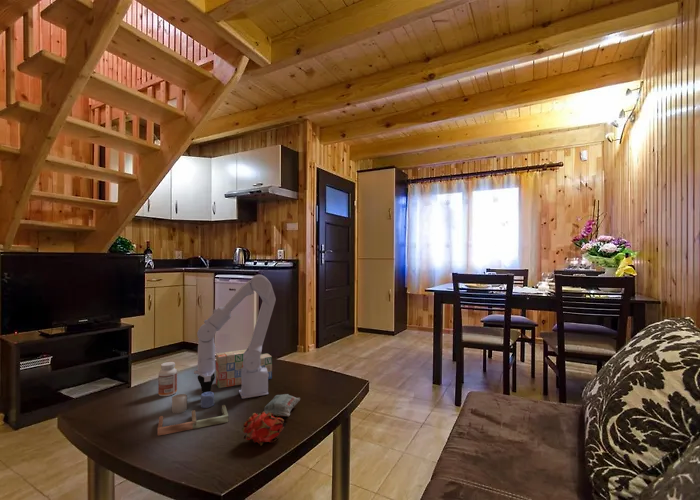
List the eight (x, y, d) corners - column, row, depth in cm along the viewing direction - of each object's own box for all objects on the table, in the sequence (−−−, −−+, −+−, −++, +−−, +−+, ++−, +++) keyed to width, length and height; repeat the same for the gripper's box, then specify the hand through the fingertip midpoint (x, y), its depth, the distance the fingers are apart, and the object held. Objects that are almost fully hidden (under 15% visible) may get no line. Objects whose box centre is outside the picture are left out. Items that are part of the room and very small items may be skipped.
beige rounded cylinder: (186, 406, 117) (186, 393, 117) (186, 411, 113) (187, 397, 113) (172, 409, 115) (172, 395, 115) (171, 414, 111) (172, 400, 111)
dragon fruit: (237, 449, 93) (282, 448, 97) (242, 443, 87) (289, 441, 91) (241, 415, 98) (283, 415, 102) (245, 407, 92) (289, 407, 96)
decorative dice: (200, 404, 119) (200, 392, 119) (213, 402, 121) (213, 390, 121) (200, 408, 115) (201, 396, 115) (213, 406, 117) (213, 394, 117)
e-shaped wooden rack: (225, 410, 114) (225, 404, 114) (228, 421, 106) (228, 415, 106) (159, 422, 105) (159, 416, 105) (157, 435, 97) (157, 429, 97)
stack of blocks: (267, 374, 150) (267, 346, 150) (272, 379, 144) (272, 349, 145) (215, 383, 139) (215, 352, 140) (218, 388, 134) (218, 356, 134)
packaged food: (300, 406, 117) (300, 391, 118) (289, 422, 106) (288, 405, 106) (276, 404, 119) (275, 390, 119) (262, 420, 107) (261, 404, 107)
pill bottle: (168, 389, 132) (168, 360, 133) (180, 391, 130) (181, 362, 131) (154, 395, 127) (154, 365, 127) (167, 397, 125) (167, 366, 125)
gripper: (193, 354, 129) (193, 390, 128) (194, 364, 116) (194, 405, 115) (213, 351, 132) (213, 387, 131) (217, 361, 119) (216, 401, 118)
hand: (206, 395), depth 124 cm, fingers closed
